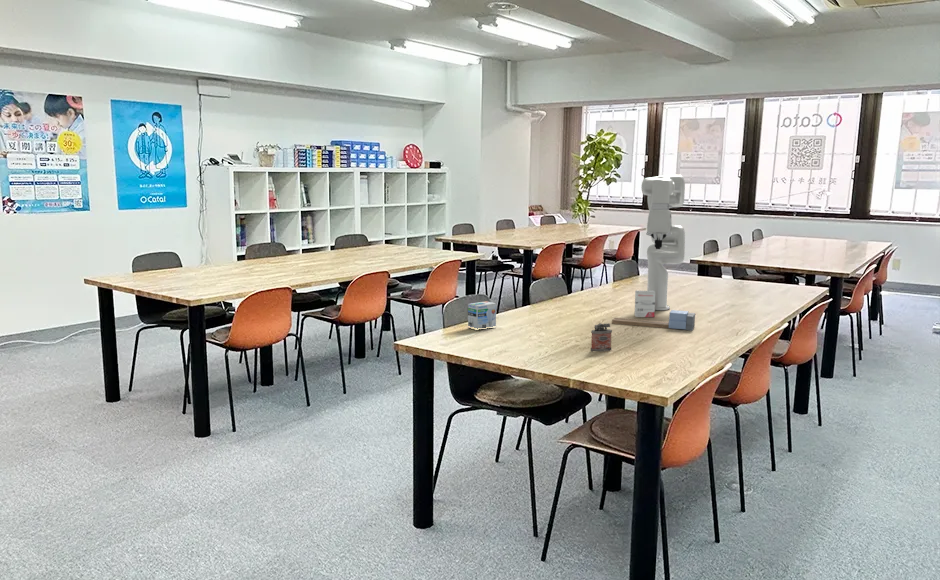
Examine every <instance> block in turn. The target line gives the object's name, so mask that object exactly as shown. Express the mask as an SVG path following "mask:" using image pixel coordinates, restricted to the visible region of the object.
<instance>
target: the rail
mask: <svg viewBox="0 0 940 580" xmlns="http://www.w3.org/2000/svg"><path fill="white" fill-rule="evenodd" d="M695 322H696V313H695V312H689V313H688V315H687V323H686V329H683V330H685V331H691V332H692V331H693V330H694V329H695V325H696V324H695ZM611 324H617V325H627V326H636V327H637V326H638V327H649V328H650V327H651V328H662V329H670V328H669V321H662V320H661V321H660V320H649V319H648V320H646V319H636V318H621V317H614V318H613V319H612V320H611ZM671 329H674V328H671Z"/></svg>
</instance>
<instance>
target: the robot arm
mask: <svg viewBox="0 0 940 580" xmlns="http://www.w3.org/2000/svg"><path fill="white" fill-rule="evenodd" d="M685 188H686V183H685V178H684V176H682V175H681V174H660V175H658V176H652V177H645V178H644V179H643V180H642V181H641V192H642V195H644V196H647V206H648V207H647V208H648V210H649V212H648V215H647V216H648V217H647V223H646V224H647V225H646V236H648V237H649V236H650V238H651V241H652V242H653V243H654V244H651V245H649V246H648V247H647V249H646V257H647V284H646V285H647V287H646V288H647V289H646V291H654V292H655V311H668V310H670V309H671V308H670V306H669V305H668V303H667V302H668V282H669V281H668V280H669V272H668V270H667V268H666V267H665V266H664V265H680V264H683V263H684V260H685V255H686V254H685V253H686V252H685V248H686V245H685V244H686V232H685V228H684V227H683V226H682V225H679V224H678V225H677V224H673V221H672V211H671V210H670V209H673V208H681V207H683V204H684V203H685V191H686V189H685Z"/></svg>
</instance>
